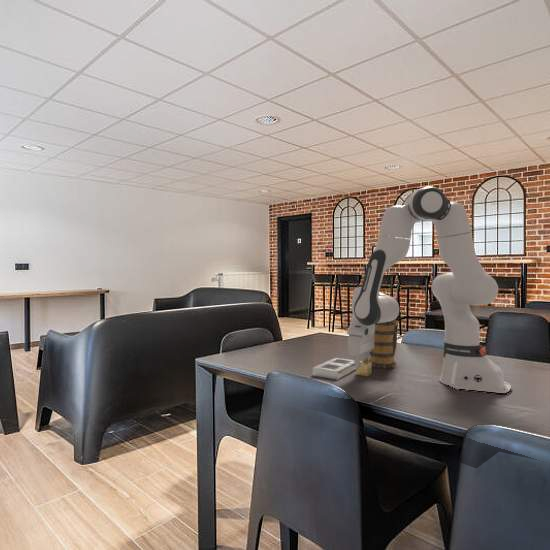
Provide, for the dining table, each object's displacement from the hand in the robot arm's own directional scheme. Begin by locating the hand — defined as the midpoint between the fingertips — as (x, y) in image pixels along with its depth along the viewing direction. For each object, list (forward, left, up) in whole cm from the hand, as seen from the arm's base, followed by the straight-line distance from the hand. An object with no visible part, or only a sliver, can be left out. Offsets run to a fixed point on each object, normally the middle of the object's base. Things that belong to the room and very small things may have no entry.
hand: (361, 364), depth 155 cm
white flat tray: (+10, +2, -4) cm, 10 cm away
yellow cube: (0, -1, -4) cm, 4 cm away
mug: (-2, -20, -4) cm, 21 cm away
